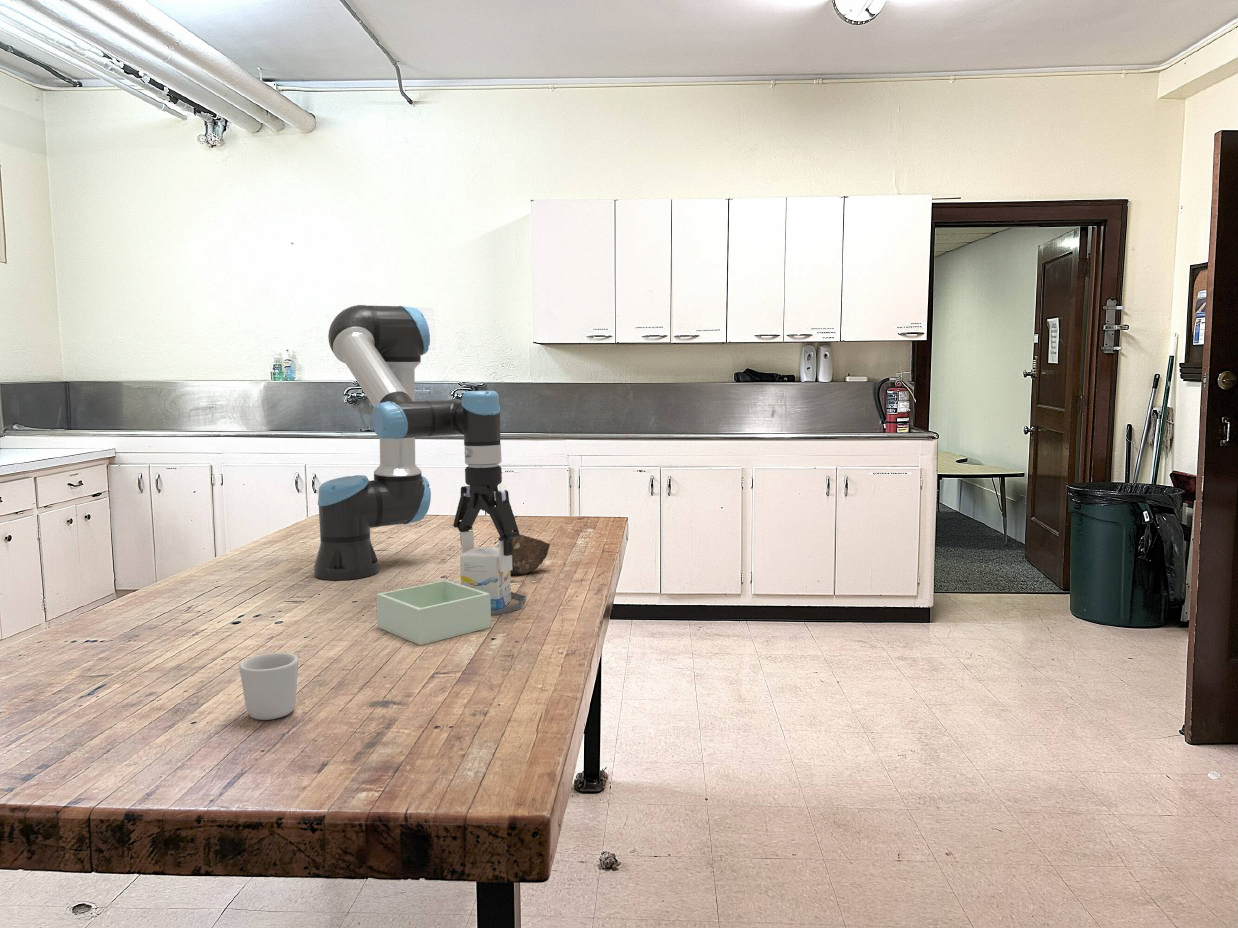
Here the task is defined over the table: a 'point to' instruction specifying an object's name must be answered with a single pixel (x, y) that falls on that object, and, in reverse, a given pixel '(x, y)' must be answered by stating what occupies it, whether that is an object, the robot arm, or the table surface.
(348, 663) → the table surface
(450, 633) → the bin
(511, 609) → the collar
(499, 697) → the table surface
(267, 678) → the cup
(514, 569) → the rock
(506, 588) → the ink box
